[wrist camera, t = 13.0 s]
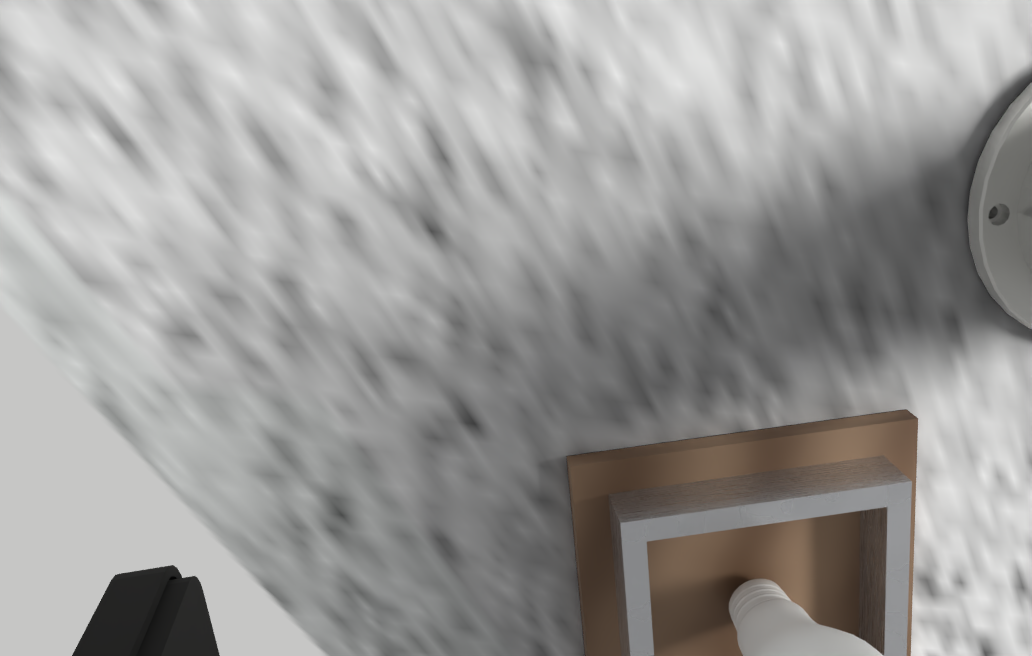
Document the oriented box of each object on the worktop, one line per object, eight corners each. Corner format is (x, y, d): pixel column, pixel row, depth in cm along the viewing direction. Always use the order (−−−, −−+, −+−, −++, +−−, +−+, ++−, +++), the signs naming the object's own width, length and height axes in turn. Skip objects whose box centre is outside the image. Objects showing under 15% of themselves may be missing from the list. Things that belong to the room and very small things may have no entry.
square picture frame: (883, 455, 41) (911, 481, 39) (878, 687, 45) (904, 724, 43) (608, 493, 41) (620, 523, 38) (626, 726, 44) (638, 766, 42)
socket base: (906, 409, 42) (917, 418, 41) (898, 694, 47) (908, 708, 46) (566, 456, 41) (570, 466, 40) (593, 742, 46) (596, 758, 45)
